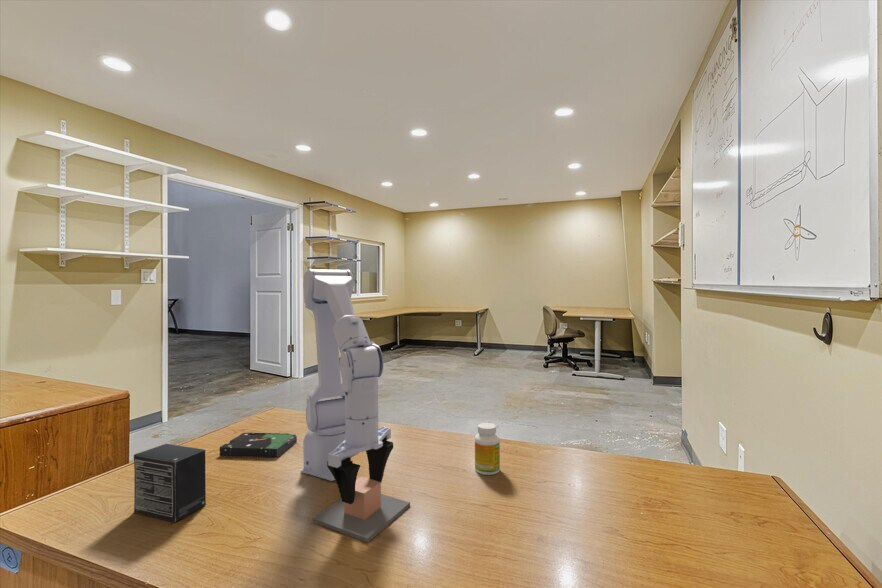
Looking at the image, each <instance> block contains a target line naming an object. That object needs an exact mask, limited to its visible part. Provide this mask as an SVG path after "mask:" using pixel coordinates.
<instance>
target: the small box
mask: <svg viewBox="0 0 882 588" xmlns="http://www.w3.org/2000/svg"><path fill="white" fill-rule="evenodd" d="M133 466H134V468H133V469H134V470H133V471H134V475H133V476H134V478H133V479H134V497H133V498H134V500H133V502H134V505H133V508H134V509H133V513H136V514H139V515H142V516H143V515H144V516H147V517H152V518H155V519H160V520H164V521H167V522H172V523H176V522H178V521H180V520H181V519H184V518H186V517H187V516H189V515H190V514H193V513H194V512H196V511H198V510H199V509H202V508H204V507H205V506H207V503H206V502H207V501H206V499H207V498H206V497H207V495H206V490H207V489H206V488H207V487H206V449H204V448H197V447H190V446H183V445H178V444H177V445H176V444H170V443H164V444H161V445H158V446H155V447H152V448H149V449H147V450H143V451H140V452H138V453H134V455H133Z"/></svg>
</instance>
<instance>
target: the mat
mask: <svg viewBox="0 0 882 588" xmlns="http://www.w3.org/2000/svg"><path fill="white" fill-rule="evenodd" d="M410 506H411V502H410V501H407V500H403V499H401V498H397V497H393V496H389V495H386V494H382V493H381V508H379V509H378V510H377V511H376V512H374V513H373V514H372V515H370V516H369V517H368V518H367V519H365V520H363V519H360V518H357V517H354V516H351V515H349V514H346V513H344V502H342V500H341V498H340V499H338V501H336V502H334V503H333V504H331V505H330V506H328V507H327V508H325V509H324V510H322V511H321V512H319V513H317V514H316V515H315V516H313V517H312V518H311V522H313V523H314V524H316V525H317V524H318V525H321V526H322V527H326V528H327V529H331V530H333V531H336V532H339V533H342V534H344V535H347V536H350V537H352V538H355V539H357V540H359V541H363V542H365V543H369V542H370V541H371V540H372V539H373V538H375V537H376V536H377V535H378V534H379V533H381V531H383V530H384V529H385V528H387V526H389V524H391V523H392V522H393V521H394V520H395V519H397V518H398V517H399V516H400V515H401V514H403V513H404V511H406V510H407V509H408V508H410Z"/></svg>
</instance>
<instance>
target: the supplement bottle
mask: <svg viewBox="0 0 882 588" xmlns="http://www.w3.org/2000/svg"><path fill="white" fill-rule="evenodd" d="M500 443H501V442H500V436H499V435H498V434H497V425H495V423H492V422H491V423H490V422H481V423H479V424H478V425H477V434H476V435H475V437H474V470H475V472H477V473H478V474H480V475H485V476H492V475H496V474H498V473H499V472H500V470H501V469H500V468H501V464H500V463H501V462H500V460H501V457H500V456H501V455H500V454H501V452H500V451H501V448H500V446H501V445H500Z"/></svg>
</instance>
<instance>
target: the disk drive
mask: <svg viewBox="0 0 882 588" xmlns="http://www.w3.org/2000/svg"><path fill="white" fill-rule="evenodd" d="M297 437H298V436H297V434H294V433H286V432H285V433H282V432H281V433H279V432H278V433H276V432H275V433H272V432H242V433H241V434H240V435H238V436H236V437H234V438H233V439H231V440H229V442H228V443H224V444H222V445H221V446H220V447H219V457H232V458H233V457H235V458H237V457H238V458H266V459H267V458H268V459H271V458H272V459H278V458H279V457H281V456H282V455H283V454H284V453H286V452H287V451H288V450H289V449H291V447H293V446H294V445H295V444H296V443H297V442H298V439H297Z"/></svg>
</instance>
